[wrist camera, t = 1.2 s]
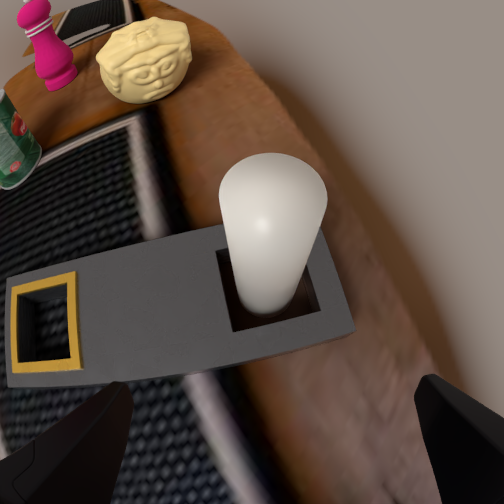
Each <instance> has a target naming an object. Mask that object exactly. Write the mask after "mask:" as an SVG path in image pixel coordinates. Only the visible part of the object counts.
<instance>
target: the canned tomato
mask: <svg viewBox="0 0 504 504" xmlns="http://www.w3.org/2000/svg"><path fill="white" fill-rule="evenodd" d="M41 155H42V148H41V146H40V145H39V144H38V142H37V141H36V139H35V138H34V136H33V135H32V133H31V132H30V130H29V129H28V128H27V126H26V124H25V123H24V121H23V120H22V118H21V117H20V115H19V113H18V112H17V110H16V109H15V107H14V105H13V104H12V103H11V100H10V99H9V98H8V96H7V94H6V93H5V90H4V89H0V186H1V187H2V188H3V189H5V190H9V189H12V188H15V187H17V186H18V185H20V184H21V183H22V182H23V181H25V180H26V179H27V178H28V177H29V176H30V174H31V173H32V172H33V171H34V169H35V168H36V166H37V165H38V163H39V161H40V158H41Z"/></svg>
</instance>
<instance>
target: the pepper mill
mask: <svg viewBox="0 0 504 504" xmlns="http://www.w3.org/2000/svg"><path fill="white" fill-rule="evenodd" d="M23 1H24V3H25V4H26V5H24V6H23V7H22V8H21V10H20V11H19V13H18V16H17V22H18V25H19V26H20V27H21V28H24V29H26V31H25V33H26V34H27V37H28V38H29V37H30V39H31V41H32V43H33V46H34V49H35V68H36V72H37V75H38V76H39V77H40V78H42V79H46V81H45V85H46V87H47V88H48V90H49V91H55V90H58V89H60V88H62V87H64V86H66V85H67V84H68V83H70V82H71V81H72V80H73V79H74V78H75V77H76V76H77V73H78V72H77V69H76V67H75V65H74V64H71V63H72V60H73V53H72V51H71V49H70V48H69V47H68V45H66V44H65V43H64V42H63V41H62V40H60V39H59V38H58V37H57V35H56V34H55V32H54V30H53V27H52V23H53V20H52V19H51V18H52V17H51V16H49V13H50V10H51V5H50V2H49V1H48V0H23Z"/></svg>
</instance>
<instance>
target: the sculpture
mask: <svg viewBox="0 0 504 504" xmlns="http://www.w3.org/2000/svg"><path fill="white" fill-rule="evenodd" d="M96 60H97V62H98V63H99V64H100V72H101V77H102V80H103V82H104V84H105V85H106V87H107V88H108V90H109V91H110V92H111V93H112V94H113V95H114V96H115V97H117V98H118V99H120V100H122V101H125V102H128V103H134V104H141V103H147V102H151V101H155V100H157V99H160V98H162V97H164V96H166V95H168V94H169V93H171V92H172V91H173V90H174V89H175V88H177V86H178V85H179V84H180V83H181V82H182V80H183V78H184V76H185V74H186V72H187V69H188V66H189V63H190V62H191V61H192V53H191V45H190V37H189V35H188V30H187V26H186V24H185V23H183V22H177V21H170V20H163V19H160V18H157V17H152V18H150V19H148V20H144V21H139V22H134V23H132V24H130V25H128V26H126V27H124V28H122V29H120V30H117V31H115V32H113V33H112V35H111V38H110V39H109V40H108V42H107V43H106V45H105V46H104V47H103V48H102V49H101V50H100V51H99V53H98V54H97V55H96Z"/></svg>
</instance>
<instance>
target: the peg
mask: <svg viewBox="0 0 504 504" xmlns="http://www.w3.org/2000/svg"><path fill="white" fill-rule="evenodd" d="M219 201H220V207H221V212H222V217H223V222H224V228H225V233H226V238H227V243H228V248H229V253H230V258H231V263H232V268H233V273H234V278H235V283H236V288H237V293H238V297H239V301H240V303H241V305H242V306H243V308H244V309H245V310H246V311H247V312H249V313H250V314H252V315H254V316H256V317H260V318H272V317H275V316H278V315H280V314H281V313H283V312H284V311H285V310H286V309H287V308H288V307H289V305H290V303H291V301H292V299H293V296H294V294H295V291H296V289H297V286H298V283H299V281H300V278H301V276H302V273H303V270H304V268H305V265H306V263H307V260H308V257H309V255H310V252H311V249H312V247H313V244H314V241H315V238H316V236H317V233H318V230H319V227H320V225H321V222H322V219H323V216H324V213H325V210H326V206H327V191H326V187H325V185H324V182H323V180H322V179H321V177H320V176H319V174H318V173H317V172H316V171H315V170H314V169H313V168H312V167H311V166H310V165H308V164H307V163H305V162H304V161H302V160H300V159H298V158H295V157H293V156H289V155H286V154H280V153H263V154H257V155H253V156H250V157H247V158H245V159H243V160H241V161H240V162H238V163H237V164H235V165H234V166H233V167H232V168H231V169H230V170H229V171H228V172H227V173H226V175H225V176H224V178H223V180H222V182H221V185H220V190H219Z"/></svg>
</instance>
